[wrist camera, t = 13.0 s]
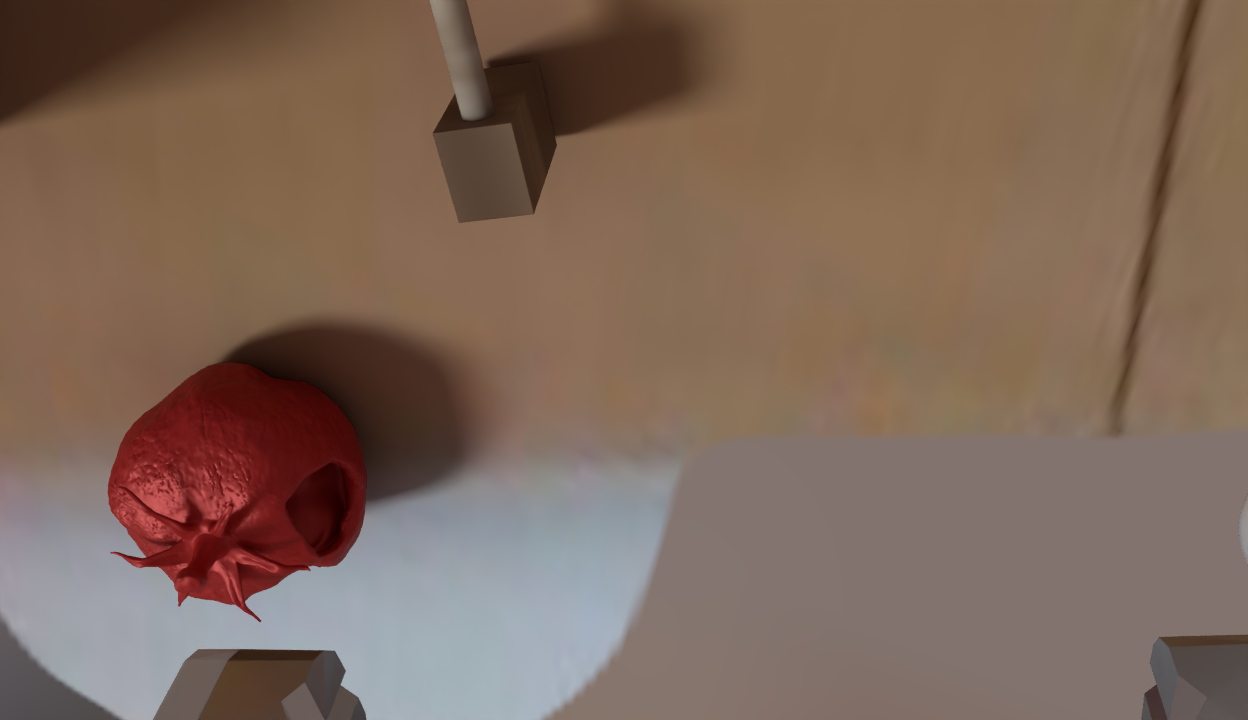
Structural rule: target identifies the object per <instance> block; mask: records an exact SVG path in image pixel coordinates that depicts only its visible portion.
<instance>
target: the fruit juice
mask: <svg viewBox="0 0 1248 720" xmlns="http://www.w3.org/2000/svg"><path fill="white" fill-rule="evenodd" d="M1239 536H1240V543H1241V547H1242V550H1243V553H1244V556H1245V559H1246V562H1247V565H1248V494H1247V496H1246V498H1245V500H1244V503H1243V506H1242V509H1241V513H1240V519H1239Z"/></svg>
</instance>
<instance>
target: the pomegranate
mask: <svg viewBox="0 0 1248 720" xmlns="http://www.w3.org/2000/svg"><path fill="white" fill-rule="evenodd" d="M366 484H367V473H366V468H365V463H364V457H363V452H362V448H361V445H360V443H359V441H358V437H357V434H356V432H355V430H354V428H353V426H352V424H351V423H350V421H349V420H348V419H347V417H346V416H345V415H344V413H343V412H342V410H341V409H340V408H339V407H338V406H337V405H336V404H335V403H334V402H333V401H332V400H330V399H329V398H328V397H327V396H326V395H325V394H324V393H323V392H322V391H320V390H318V389H317V388H316V387H314V386H312V385H311V384H309V383H306V382H302V381H294V380H285V379H280V378H274V377H270V376H268V375H267V374H265V373H264V372H262V371H261V370H259V369H257V368H255V367H253V366H251V365H248V364H242V363H234V362H222V363H218V364H214V365H210V366H207V367H205V368H204V369H201V370H200V371H198V372H197V373H196V374H194V375H192V376H190V377H189V378H188V379H186V380H185V381H184V382H183V383H182V384H181V385H180V386H178V387H177V388H176V389H175V390H174V391H172V392H171V393H170V394H169V395H168V396H167V397H165V398H164V399H163V400H162V401H161V402H160V403H158V404H157V405H156V406H154V407H153V408H151V409H150V410H149V411H147V412H145V413H144V414H143V415H142V416H141V417H140V418H139V419H138V420H137V421H136V422H135V423H134V424H133V425H132V427H131V428H130V429H129V430H128V432H127V433H126V434H125V436H124V438H123V441H122V442H121V444H120V447H119V450H118V454H117V457H116V460H115V462H114V465H113V467H112V470H111V476H110V478H109V483H108V497H109V505H110V508H111V512H112V513H113V514H114V515H115V516H116V518H117V519H118V520H119V521H120V523H121V524H122V525H123V526H124V527H125V528H127V531H128V534H129V535H130V536H131V538H132V539H133V540H134V541H135V542H136V544H137V545H138V547H139V549H140V550H141V551H142V552H143V553H144V555H145V556H146V558H138V557H133V556H128V555H125V554H122V553H119V552H110V553H111V554H117V555H119V556H121V557H123V558H124V559H125V560H126V561H128V562H129V563H131V564H132V565H133V566H135V567H139V568H142V567H159V568H161V569H162V570H163V571H164V572H165V573H166V574H167V575H168V577H169V578H170V579H171V580H172V581H173V582H174V587H175V589H176V591H178V602H179V604H178V606H180V605H181V603H182V602H183V601H184V599H186V598H187V596H191V597H194V598H199V599H205V600H214V601H218V602H221V603H225V604H229V605H234V604H235V605H237V606H238V607H239V608H241V609H242V610H243V611H244V612H246V613H248V614H250V615H252V616H253V617H254V618H255V619H257V620H258V621H259V622H261V620H260V619H259V618H258V617H257V616H256V615H255V614H254V613H253V612H252V611H251V610H250V609H249V608H248V607H247V606H246V604H245V601H246V600H247V599H248V598H249V597H250V596H251V595H253V594H255V593H257V592H260V591H263V590H266V589H269V588H271V587H273V586H275V585H277V584H278V583H279V582H280V581H281V580H283V579H284V578H285V577H287V576H288V575H290V574H292V573H294V572H296V571H298V570H308V571H311V570H310V569H309V567H308V566H313V565H314V566H317V567H322V566H323V567H329V566H336V565H337V564H339V563H340V562H341V561H342V560H343V559H344V558H345V557H346V555H347V553H348V552H349V550H350V549H351V547H352V546H353V545H354V543H355V542H356V540H357V538H358V536H359V534H360V531H361V528H362V525H363V519H364V514H365V503H366Z"/></svg>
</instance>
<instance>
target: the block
mask: <svg viewBox="0 0 1248 720" xmlns="http://www.w3.org/2000/svg"><path fill="white" fill-rule="evenodd" d="M430 4H431V7H432V11H433V15H434V18H435V22H436V26H437V29H438V33H439V36H440V40H441V44H442V47H443V51H444V55H445V58H446V62H447V65H448V69H449V73H450V76H451V80H452V84H453V87H454V91H455V95H454V96H453V98H452V100H451V102H450V104H449V105H448V107H447V109H446V111H445V112H444V114H443V116H442V118H441V120H440V121H439V123H438V125H437V127H436V128H435V130H434V132H433V136H434V140H435V143H436V146H437V150H438V153H439V157H440V160H441V163H442V167H443V170H444V174H445V177H446V180H447V184H448V187H449V191H450V194H451V197H452V201H453V204H454V208H455V211H456V214H457V218H458V221H459V223H462V222H471V221H479V220H488V219H496V218H505V217H513V216H522V215H531V214H534V212H535V209H536V206H537V203H538V200H539V197H540V194H541V191H542V188H543V185H544V182H545V179H546V176H547V173H548V170H549V167H550V164H551V161H552V158H553V155H554V152H555V149H556V146H557V144H556V139H555V135H554V131H553V126H552V122H551V117H550V113H549V109H548V104H547V100H546V95H545V91H544V87H543V82H542V78H541V74H540V69H539V65H538V61H535V62H528V63H521V64H514V65H507V66H500V67H493V68H486V69H484V68H483V64H482V60H481V56H480V52H479V48H478V44H477V40H476V37H475V33H474V29H473V25H472V21H471V17H470V13H469V9H468V5H467V1H466V0H430Z"/></svg>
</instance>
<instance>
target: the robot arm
mask: <svg viewBox="0 0 1248 720" xmlns="http://www.w3.org/2000/svg"><path fill="white" fill-rule="evenodd" d="M1150 665H1151V668H1152V672H1153V675H1154V678H1155V681H1156V685H1155V686H1154V687H1152V688H1151V689H1150V690H1149V691H1147V692H1146V693H1145V694H1144V702H1143V709H1142V717H1141V718H1142V720H1248V635H1214V636H1178V637H1159V638H1158V639H1157V640H1156V642H1155V643H1154V644H1153V649H1152V654H1151V659H1150ZM345 671H346V670H345V669H344V667H343V665H342V663H341V661H340V659H339V658H338V656H337V654H336V652H335V651H325V650H260V649H198V650H197V651H196V652H195V653H193V654H192V655H191V656H190V657H189V658H188V659H186V660H185V662H184V663H183V665H182V667H181V668H180V670H179V672H178V674H177V676H176V678H175V680H174V681H173V683H172V685H171V687H170V689H169V691H168V692H167V694H166V696H165V698H164V700H163V702H162V704H161V705H160V707H159V709H158V711H157V713H156V715H155V717H154V718H153V720H366V714H365V711H364V709H363V707H362V704H361V702H360V700H359V698H358V697H357V696H355V695H354V694H352V693H351V692H350V691H348V690H347V689H345V688H344V687H342V686H341V682H342V679H343V677H344V674H345Z"/></svg>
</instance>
